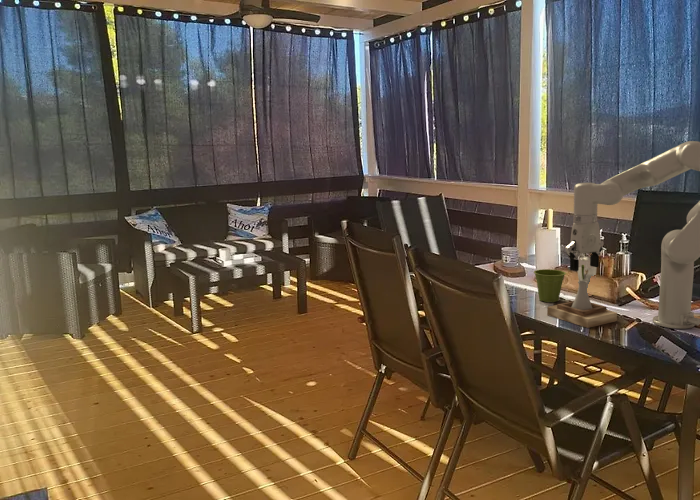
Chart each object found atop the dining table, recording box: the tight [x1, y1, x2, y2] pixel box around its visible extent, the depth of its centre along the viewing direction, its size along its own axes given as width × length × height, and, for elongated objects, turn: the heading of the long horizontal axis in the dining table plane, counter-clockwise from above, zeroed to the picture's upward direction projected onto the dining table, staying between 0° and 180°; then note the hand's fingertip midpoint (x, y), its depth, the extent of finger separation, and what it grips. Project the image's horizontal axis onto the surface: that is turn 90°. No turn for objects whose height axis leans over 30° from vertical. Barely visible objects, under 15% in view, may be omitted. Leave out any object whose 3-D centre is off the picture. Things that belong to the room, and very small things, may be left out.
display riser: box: [546, 300, 618, 329], centre depth 214 cm, size 18×14×4 cm
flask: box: [572, 280, 592, 310], centre depth 213 cm, size 7×7×10 cm
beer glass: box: [577, 256, 597, 288], centre depth 243 cm, size 7×7×15 cm
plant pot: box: [533, 268, 567, 303], centre depth 237 cm, size 12×12×11 cm
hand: (584, 268), depth 211 cm, fingers open, 9 cm apart
